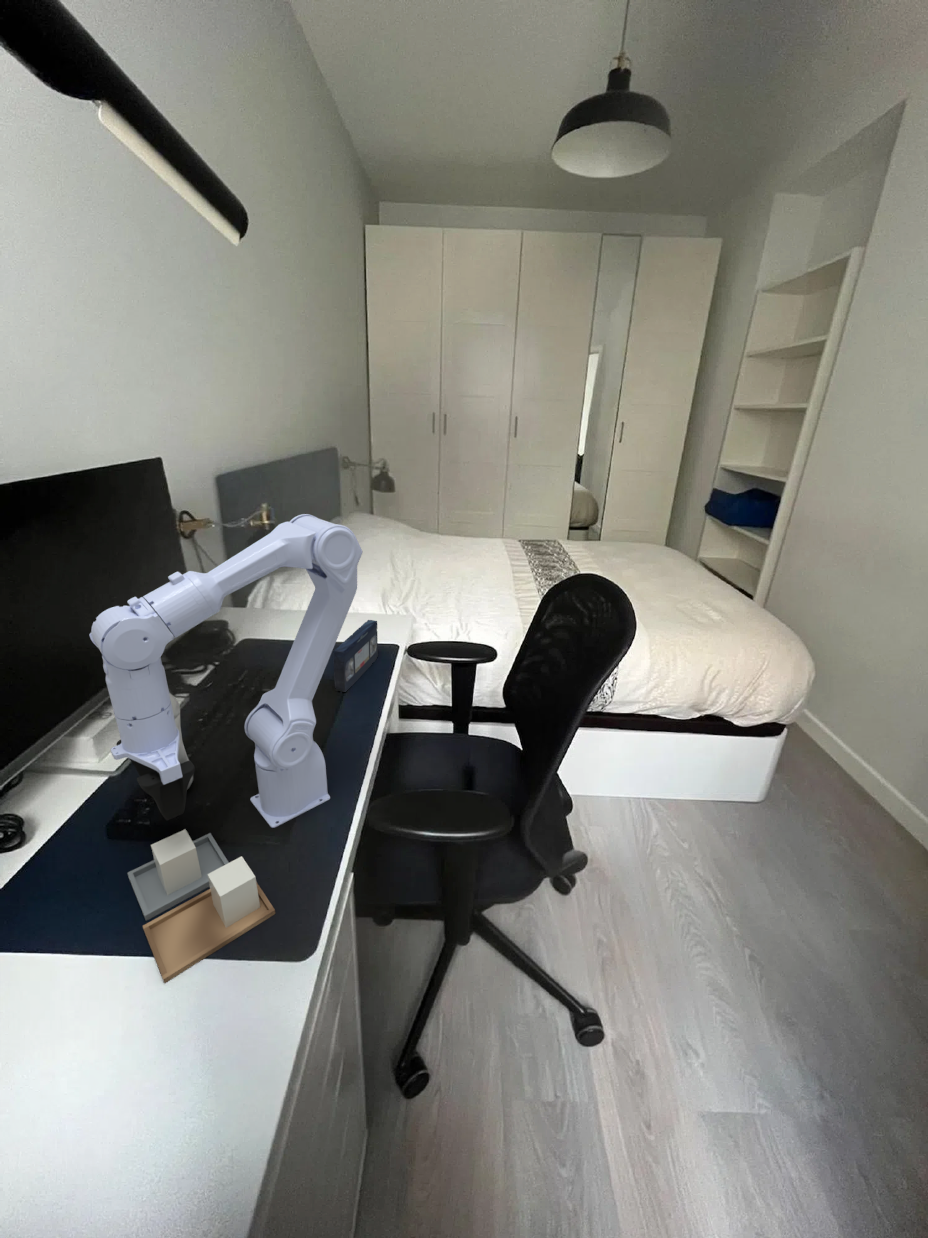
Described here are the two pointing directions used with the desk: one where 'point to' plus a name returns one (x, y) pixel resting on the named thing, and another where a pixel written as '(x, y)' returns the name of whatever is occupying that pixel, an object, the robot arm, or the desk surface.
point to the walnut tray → (196, 932)
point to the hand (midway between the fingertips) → (164, 799)
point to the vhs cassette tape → (355, 655)
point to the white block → (176, 861)
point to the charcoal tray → (158, 901)
